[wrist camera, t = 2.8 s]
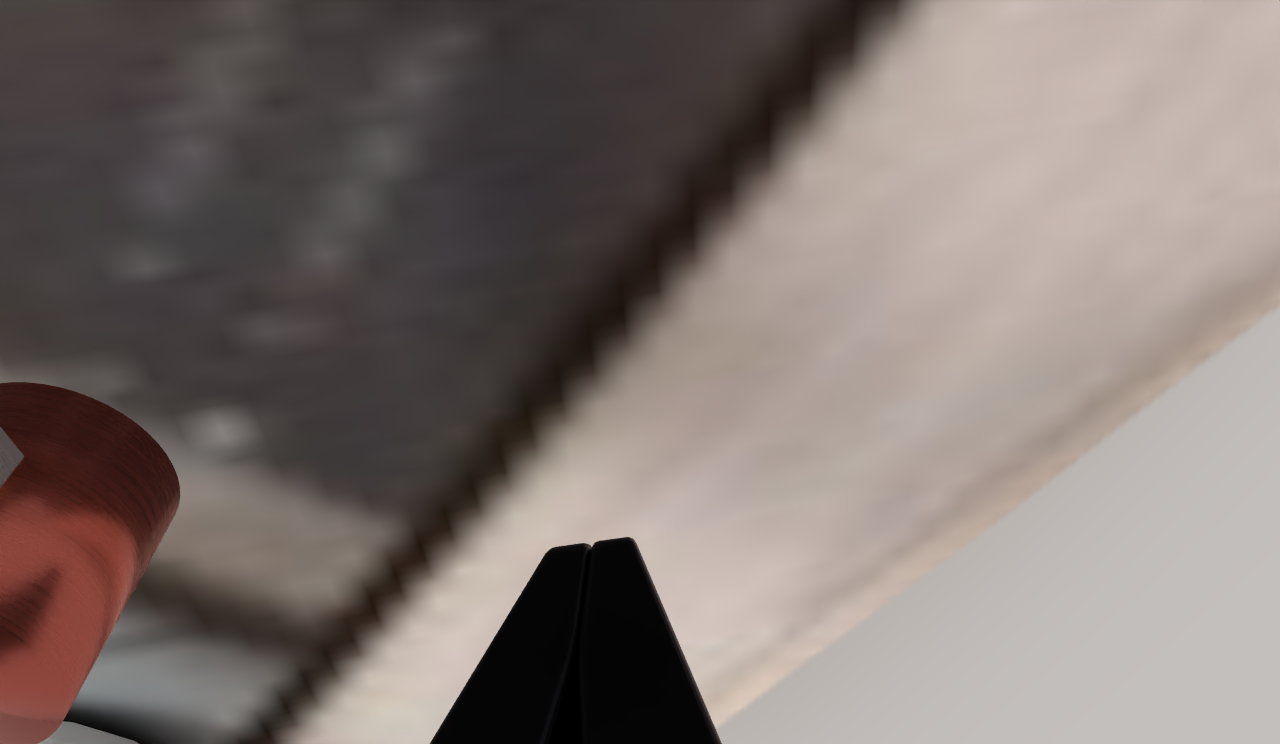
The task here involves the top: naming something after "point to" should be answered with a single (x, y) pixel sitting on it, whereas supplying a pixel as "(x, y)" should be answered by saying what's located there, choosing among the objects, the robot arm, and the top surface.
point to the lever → (69, 543)
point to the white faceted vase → (83, 736)
